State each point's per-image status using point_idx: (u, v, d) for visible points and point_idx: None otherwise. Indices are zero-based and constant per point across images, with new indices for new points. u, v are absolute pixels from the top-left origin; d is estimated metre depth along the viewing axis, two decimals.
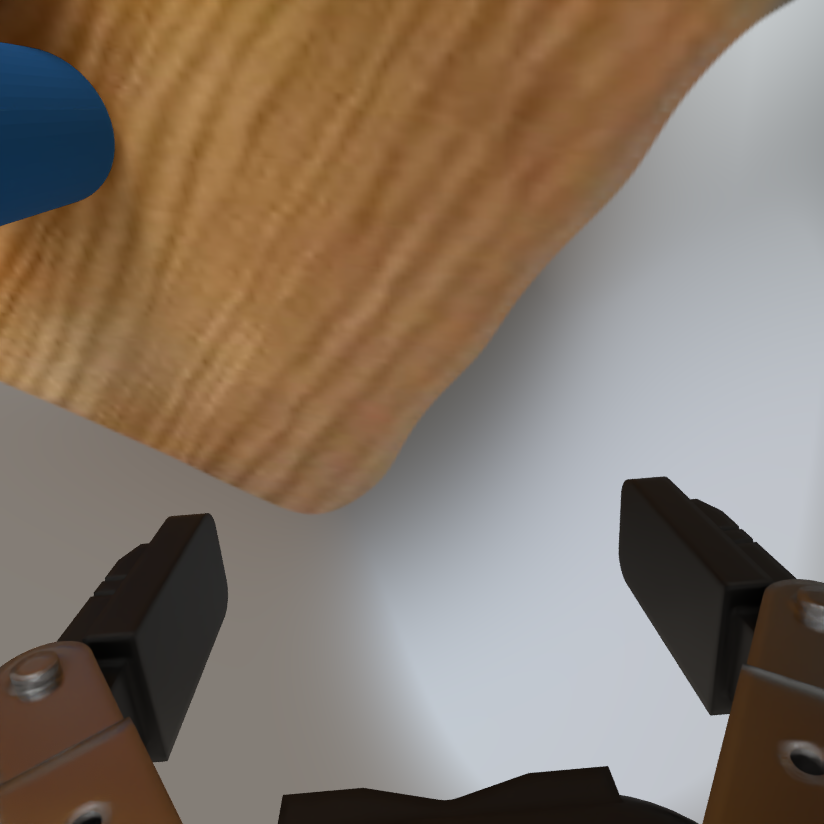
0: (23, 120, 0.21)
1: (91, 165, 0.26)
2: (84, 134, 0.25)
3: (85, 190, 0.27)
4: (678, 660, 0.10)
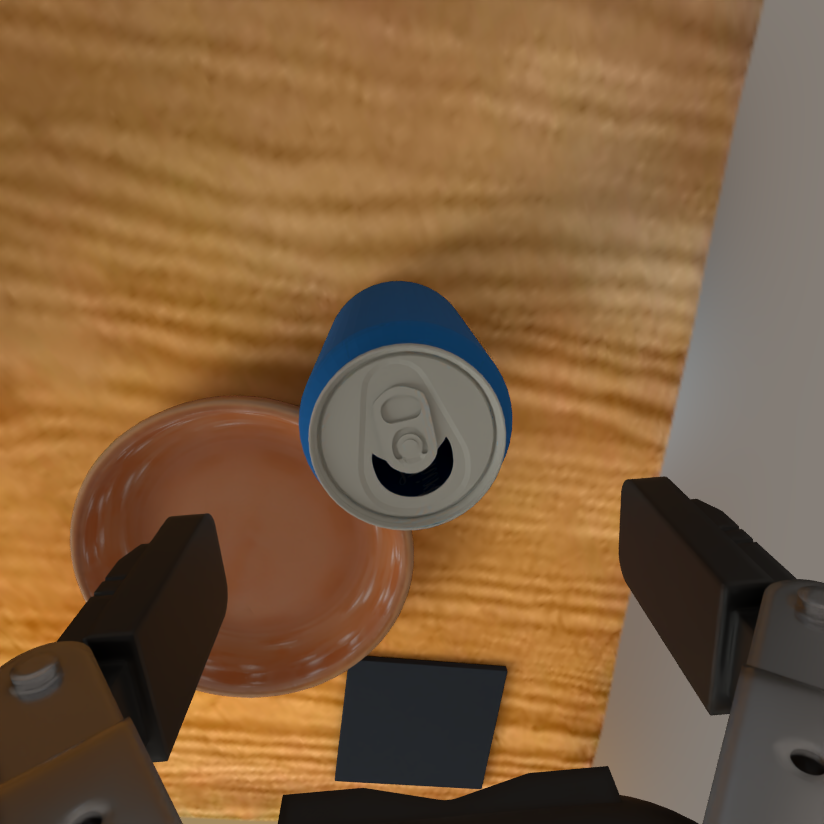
0: (343, 327, 0.20)
1: (393, 287, 0.24)
2: (363, 298, 0.24)
3: (426, 290, 0.25)
4: (679, 660, 0.10)
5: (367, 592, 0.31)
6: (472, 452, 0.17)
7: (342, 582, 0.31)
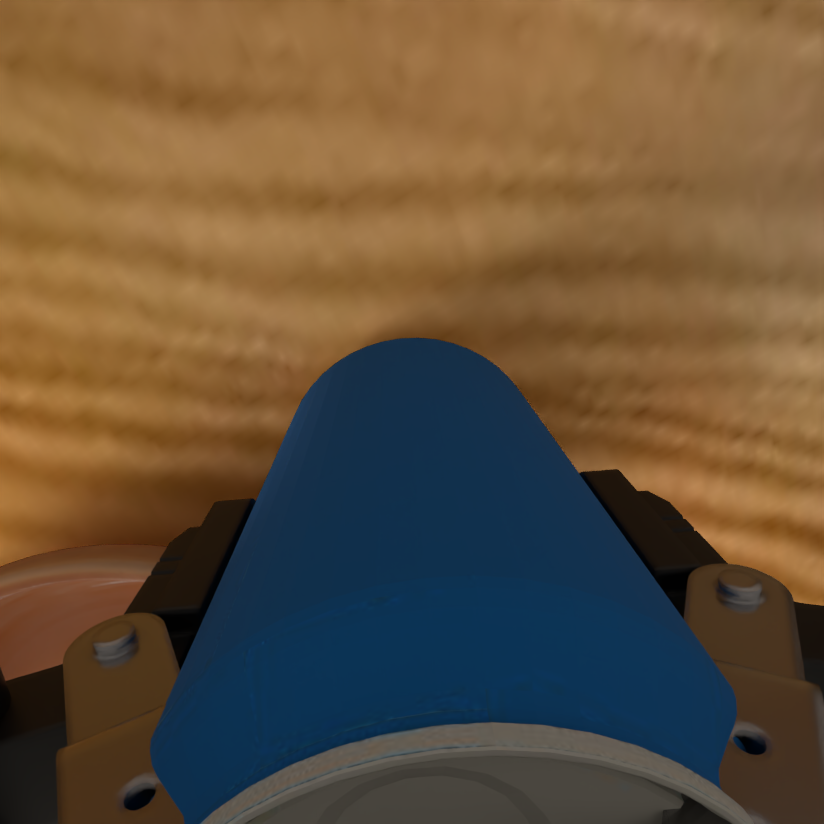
0: (282, 511, 0.08)
1: (407, 362, 0.12)
2: (345, 388, 0.12)
3: (469, 362, 0.13)
4: None
5: None
6: None
7: None
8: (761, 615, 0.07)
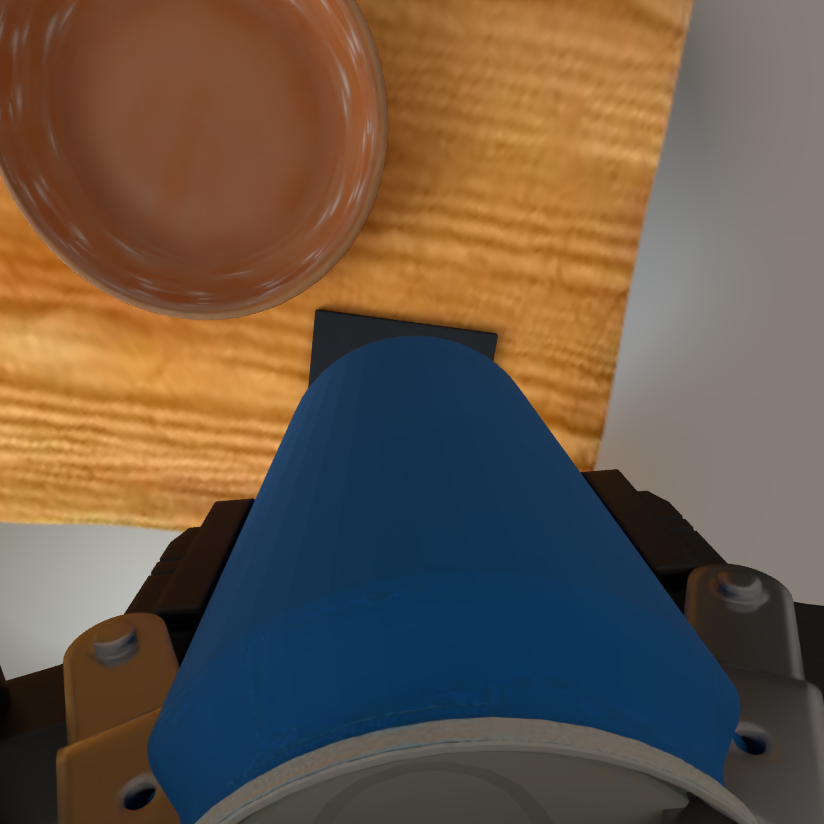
0: (282, 508, 0.08)
1: (407, 360, 0.12)
2: (344, 386, 0.12)
3: (469, 360, 0.13)
4: None
5: (335, 202, 0.27)
6: None
7: (306, 192, 0.27)
8: (760, 615, 0.07)
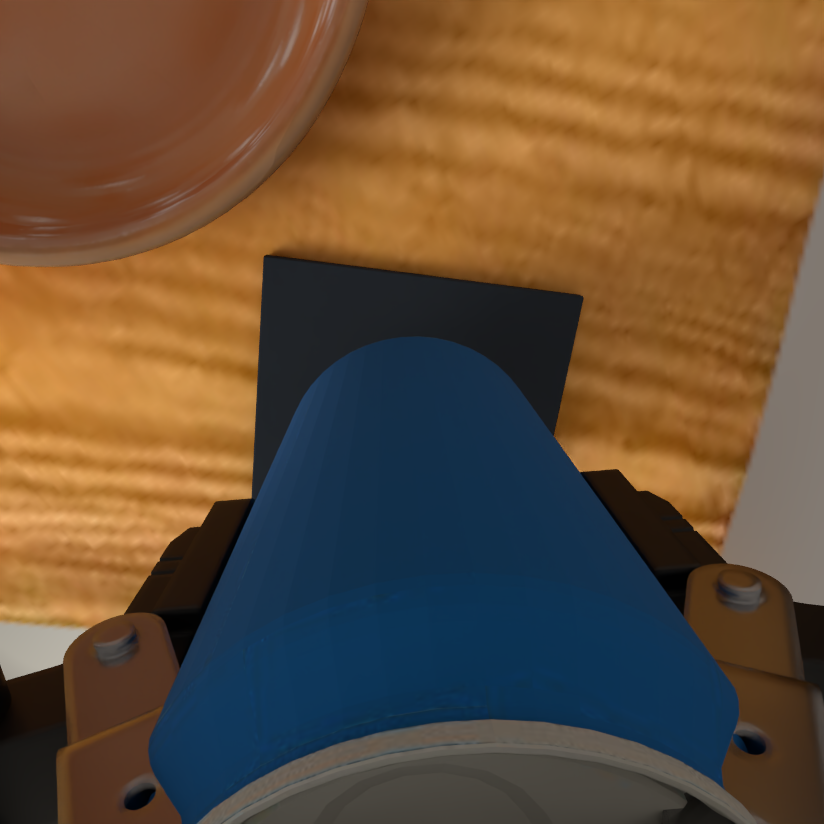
0: (282, 508, 0.08)
1: (407, 361, 0.12)
2: (345, 387, 0.12)
3: (469, 361, 0.13)
4: None
5: (289, 41, 0.14)
6: None
7: (235, 23, 0.14)
8: (761, 615, 0.07)
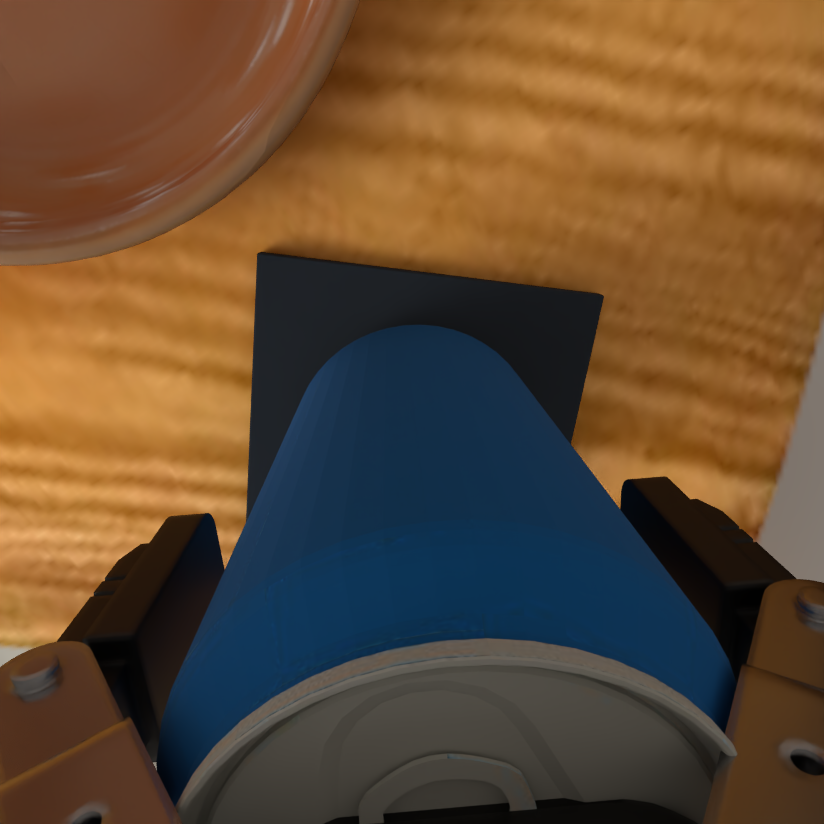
0: (295, 476, 0.08)
1: (409, 346, 0.13)
2: (351, 370, 0.12)
3: (469, 347, 0.14)
4: None
5: (283, 15, 0.13)
6: None
7: None
8: None
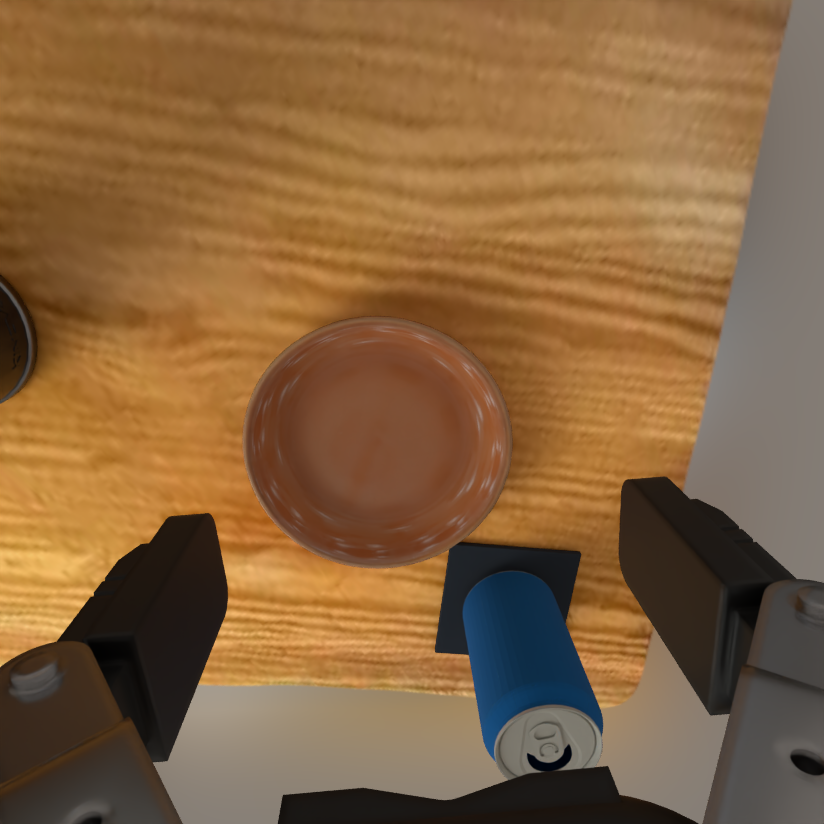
0: (499, 658, 0.34)
1: (514, 593, 0.38)
2: (496, 604, 0.38)
3: (532, 588, 0.39)
4: (679, 660, 0.10)
5: (470, 483, 0.38)
6: (583, 751, 0.31)
7: (449, 475, 0.38)
8: None
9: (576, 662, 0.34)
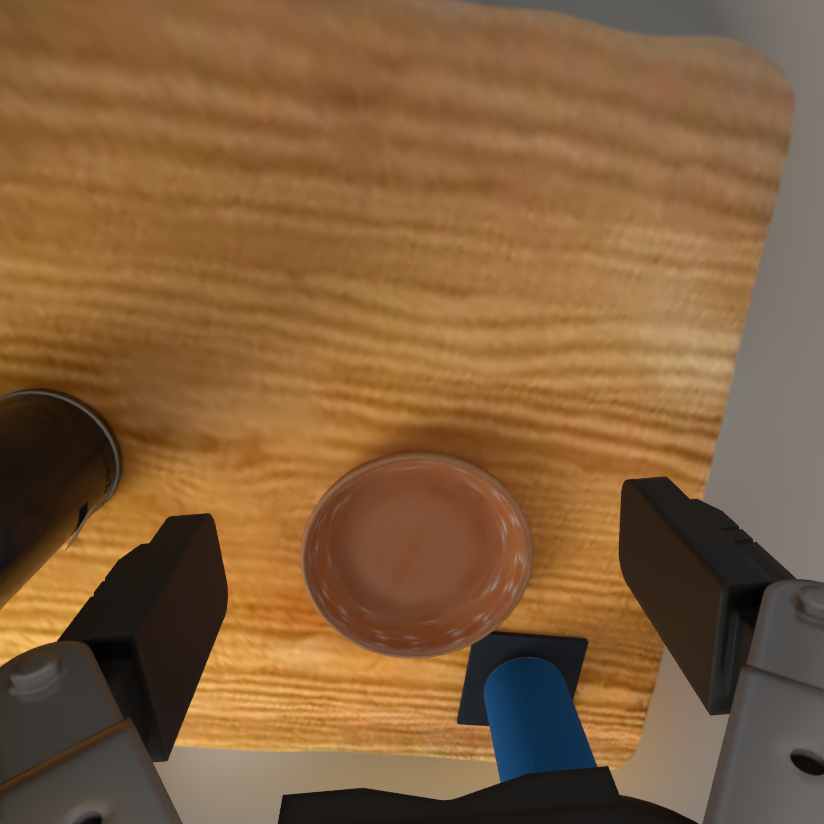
0: (521, 746, 0.39)
1: (531, 681, 0.44)
2: (516, 692, 0.43)
3: (546, 675, 0.45)
4: (678, 660, 0.10)
5: (494, 584, 0.44)
6: None
7: (476, 577, 0.44)
8: None
9: (586, 750, 0.39)
